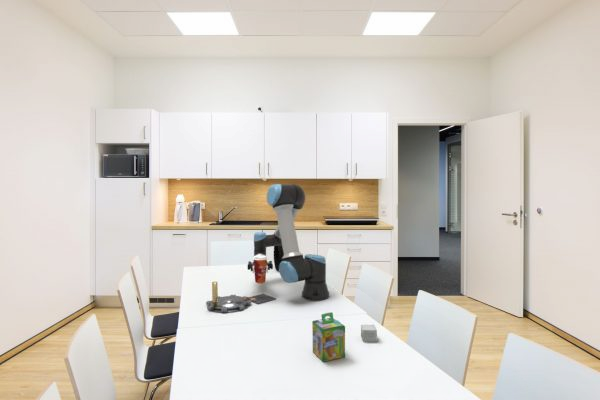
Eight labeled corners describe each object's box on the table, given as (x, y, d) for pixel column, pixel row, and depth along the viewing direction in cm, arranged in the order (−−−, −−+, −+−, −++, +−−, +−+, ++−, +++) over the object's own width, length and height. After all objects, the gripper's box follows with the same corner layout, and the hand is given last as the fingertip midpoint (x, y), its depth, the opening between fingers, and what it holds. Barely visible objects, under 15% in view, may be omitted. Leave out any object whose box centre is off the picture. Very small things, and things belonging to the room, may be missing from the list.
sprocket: (244, 294, 196) (243, 271, 196) (256, 307, 176) (256, 280, 175) (203, 300, 187) (202, 276, 186) (211, 314, 166) (210, 286, 166)
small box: (360, 336, 142) (360, 324, 142) (374, 336, 142) (374, 324, 142) (362, 342, 137) (362, 330, 136) (377, 342, 136) (377, 330, 136)
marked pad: (276, 299, 190) (276, 297, 190) (258, 304, 183) (258, 302, 182) (263, 294, 199) (263, 293, 199) (245, 299, 191) (245, 297, 191)
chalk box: (323, 362, 121) (322, 320, 120) (311, 351, 129) (311, 311, 129) (346, 357, 124) (346, 316, 124) (333, 346, 133) (333, 308, 132)
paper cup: (261, 284, 186) (261, 258, 185) (250, 282, 190) (250, 256, 189) (270, 281, 192) (270, 255, 192) (259, 279, 196) (259, 254, 196)
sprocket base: (258, 305, 180) (258, 304, 180) (220, 316, 166) (220, 315, 166) (236, 296, 197) (236, 295, 197) (199, 305, 182) (199, 304, 182)
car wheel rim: (293, 272, 251) (292, 244, 250) (279, 273, 248) (279, 245, 248) (286, 266, 270) (286, 240, 270) (273, 267, 267) (273, 241, 267)
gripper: (276, 266, 210) (278, 276, 187) (243, 267, 207) (241, 277, 185) (276, 254, 209) (278, 262, 187) (243, 255, 207) (241, 263, 184)
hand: (260, 270), depth 186 cm, fingers closed on paper cup, 7 cm apart
